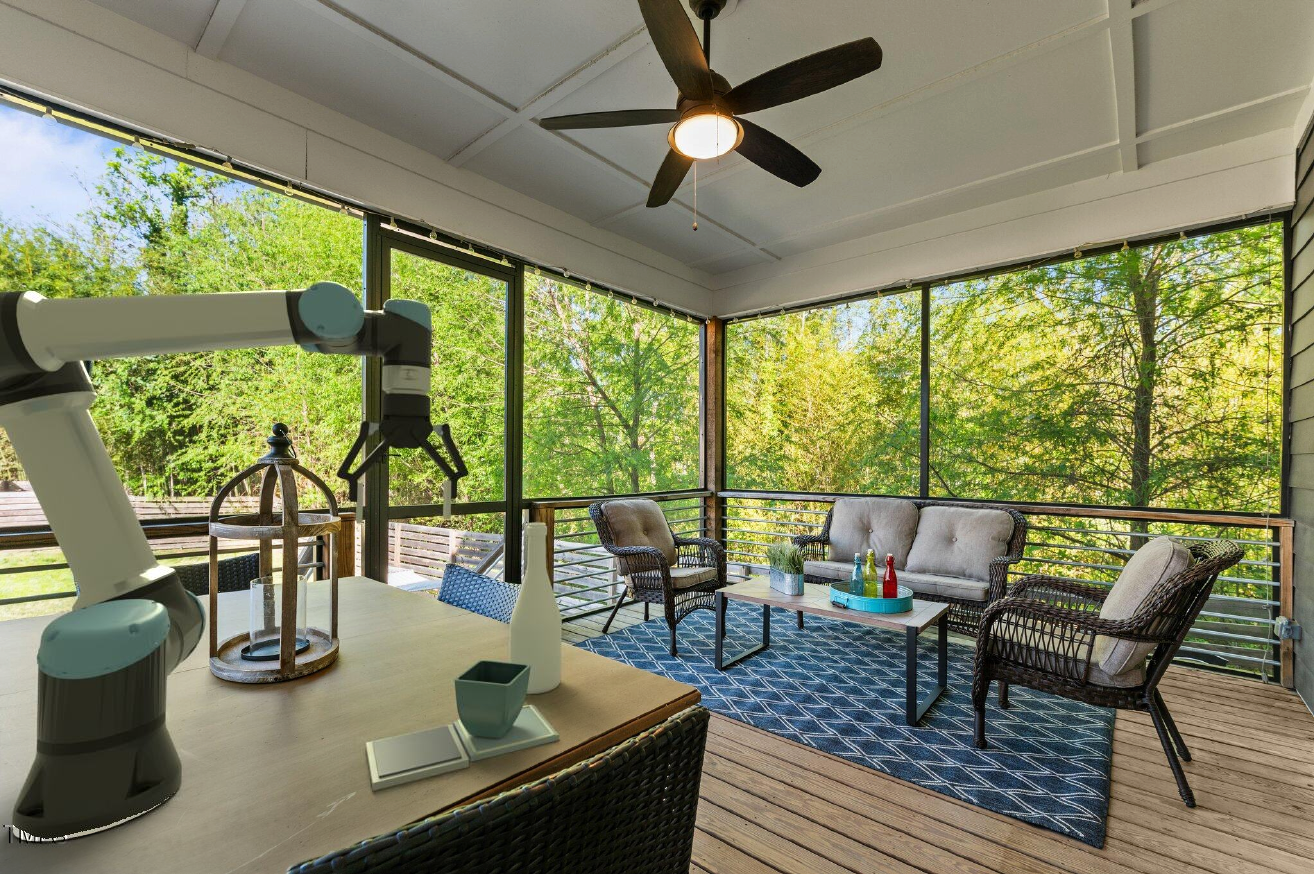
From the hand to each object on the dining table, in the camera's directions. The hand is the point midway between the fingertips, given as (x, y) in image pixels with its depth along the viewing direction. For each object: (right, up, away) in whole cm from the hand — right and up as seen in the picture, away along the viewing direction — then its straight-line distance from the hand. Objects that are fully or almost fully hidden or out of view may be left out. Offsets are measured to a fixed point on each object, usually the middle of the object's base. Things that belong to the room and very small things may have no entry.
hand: (404, 520), depth 100 cm
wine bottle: (+20, -32, +11) cm, 39 cm away
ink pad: (+8, -32, -15) cm, 36 cm away
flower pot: (+17, -31, -9) cm, 37 cm away
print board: (+19, -32, -8) cm, 38 cm away
